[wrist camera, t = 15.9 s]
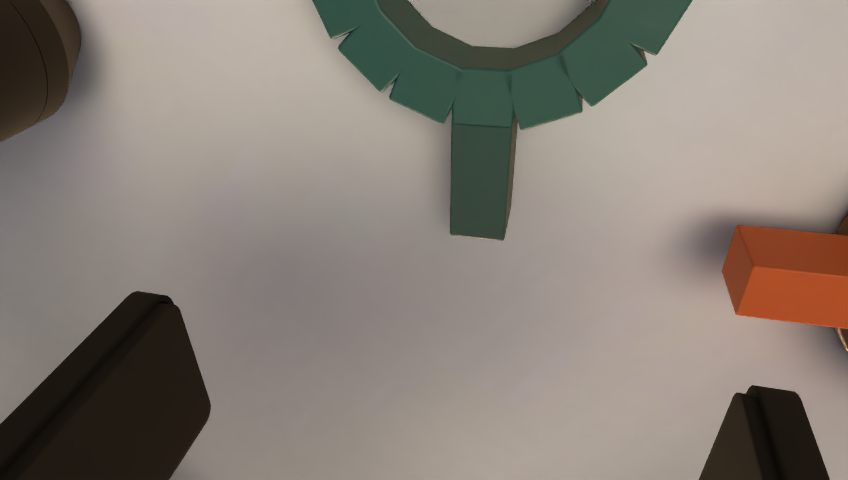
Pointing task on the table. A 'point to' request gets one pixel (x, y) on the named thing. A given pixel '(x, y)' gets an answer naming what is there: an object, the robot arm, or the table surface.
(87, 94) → the table surface
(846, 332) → the peg stand
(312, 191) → the table surface
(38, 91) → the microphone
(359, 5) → the teal ring
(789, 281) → the orange ring
